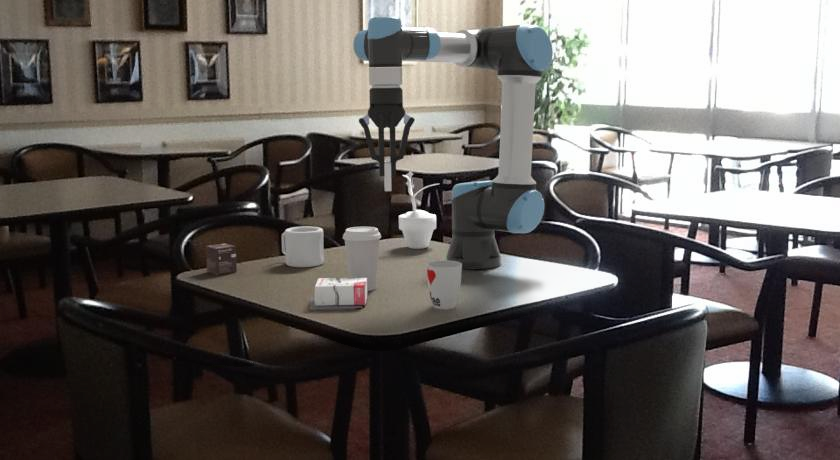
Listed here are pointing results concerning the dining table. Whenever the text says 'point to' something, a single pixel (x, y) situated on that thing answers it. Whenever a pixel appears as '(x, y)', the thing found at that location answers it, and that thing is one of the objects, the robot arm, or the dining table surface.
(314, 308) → the mat
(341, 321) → the dining table surface
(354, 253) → the coffee cup
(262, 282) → the dining table surface
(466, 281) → the dining table surface
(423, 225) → the potted plant
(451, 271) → the cup
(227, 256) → the box
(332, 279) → the ink box
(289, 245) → the mug
